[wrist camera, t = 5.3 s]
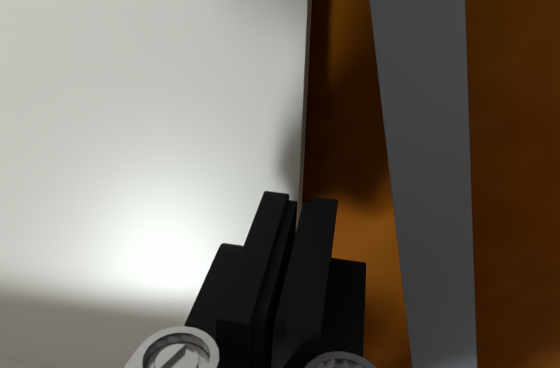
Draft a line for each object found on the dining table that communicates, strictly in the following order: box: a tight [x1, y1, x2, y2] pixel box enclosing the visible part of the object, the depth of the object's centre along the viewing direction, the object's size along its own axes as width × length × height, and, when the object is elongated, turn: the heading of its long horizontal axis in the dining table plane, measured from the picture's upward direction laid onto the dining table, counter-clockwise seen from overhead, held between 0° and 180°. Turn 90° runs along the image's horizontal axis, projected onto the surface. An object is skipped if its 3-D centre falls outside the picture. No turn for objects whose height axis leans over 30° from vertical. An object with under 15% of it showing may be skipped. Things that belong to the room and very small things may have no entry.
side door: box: [370, 0, 477, 368], centre depth 10 cm, size 19×2×5 cm, turn 12°
